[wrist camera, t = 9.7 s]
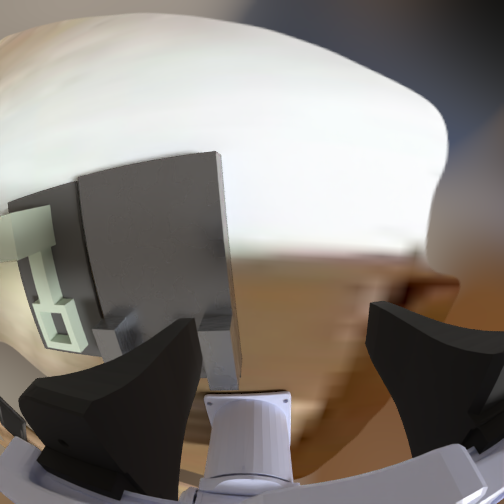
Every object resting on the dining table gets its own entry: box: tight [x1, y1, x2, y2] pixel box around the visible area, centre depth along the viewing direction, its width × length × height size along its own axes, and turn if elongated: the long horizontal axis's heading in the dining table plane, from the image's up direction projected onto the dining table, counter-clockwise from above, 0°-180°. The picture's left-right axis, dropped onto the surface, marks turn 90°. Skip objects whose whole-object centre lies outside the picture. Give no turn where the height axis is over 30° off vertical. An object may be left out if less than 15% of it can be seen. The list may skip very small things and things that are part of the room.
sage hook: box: [0, 205, 88, 353], centre depth 18 cm, size 13×5×5 cm, turn 4°
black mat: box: [8, 181, 103, 357], centre depth 20 cm, size 16×10×1 cm, turn 5°
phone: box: [0, 396, 27, 442], centre depth 29 cm, size 8×1×15 cm
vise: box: [78, 151, 242, 390], centre depth 17 cm, size 16×10×6 cm, turn 5°
